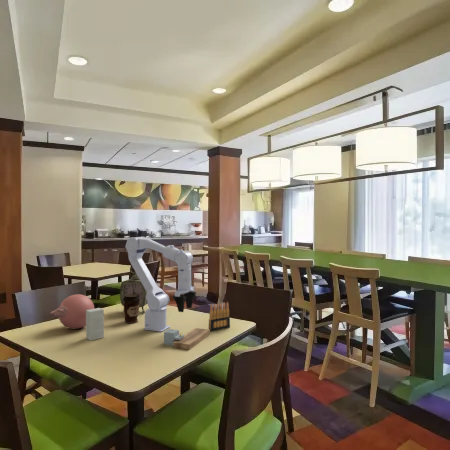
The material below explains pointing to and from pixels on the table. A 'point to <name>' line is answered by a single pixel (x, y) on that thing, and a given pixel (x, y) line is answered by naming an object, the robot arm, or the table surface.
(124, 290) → the tabletop clock
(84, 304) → the balloon
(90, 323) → the skincare box
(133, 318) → the coffee cup
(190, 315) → the table surface
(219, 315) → the ammunition clip
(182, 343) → the board
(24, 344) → the table surface
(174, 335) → the grey stepped block
